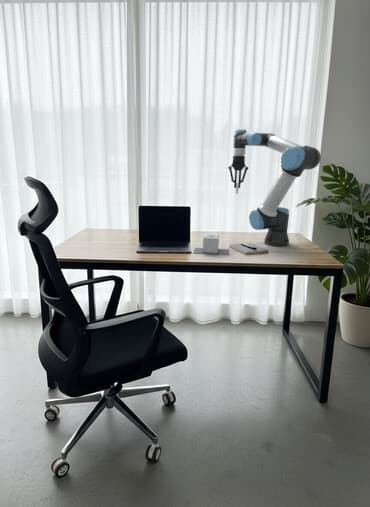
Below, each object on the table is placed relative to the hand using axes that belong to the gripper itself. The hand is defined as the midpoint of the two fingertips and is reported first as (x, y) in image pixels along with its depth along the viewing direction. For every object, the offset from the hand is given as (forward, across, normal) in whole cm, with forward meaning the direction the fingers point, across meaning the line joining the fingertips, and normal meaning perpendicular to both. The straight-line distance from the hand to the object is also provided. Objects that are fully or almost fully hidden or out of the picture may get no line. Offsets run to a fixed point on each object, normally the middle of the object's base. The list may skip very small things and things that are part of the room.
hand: (236, 193), depth 237 cm
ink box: (+25, +14, +31) cm, 42 cm away
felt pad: (+29, +14, +38) cm, 50 cm away
